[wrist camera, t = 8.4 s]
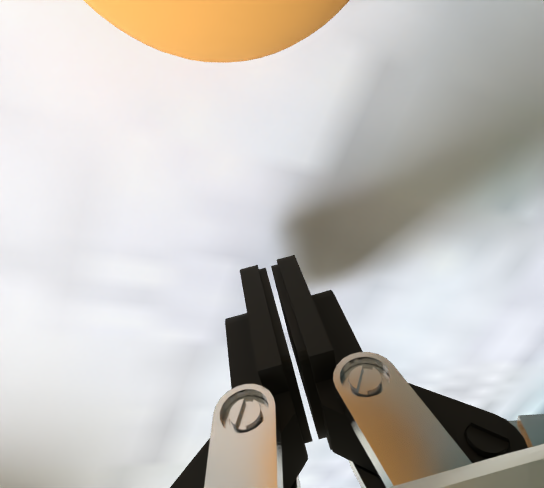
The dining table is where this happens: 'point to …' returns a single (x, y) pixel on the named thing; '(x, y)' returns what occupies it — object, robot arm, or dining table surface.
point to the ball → (218, 25)
